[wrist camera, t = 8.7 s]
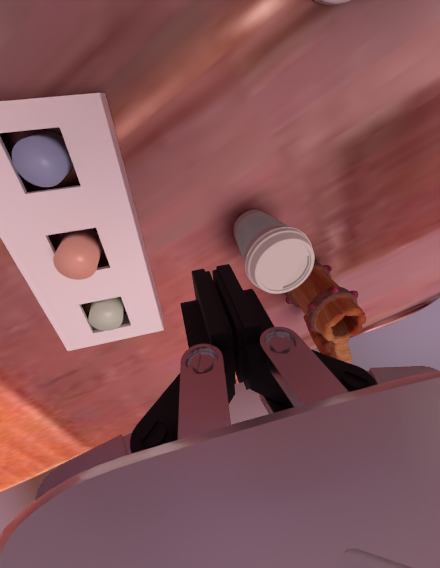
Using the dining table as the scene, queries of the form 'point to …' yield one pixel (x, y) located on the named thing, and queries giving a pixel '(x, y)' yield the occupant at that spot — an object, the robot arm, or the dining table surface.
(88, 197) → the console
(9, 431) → the dining table surface
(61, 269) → the orange rounded piece
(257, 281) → the coffee cup
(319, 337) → the mug
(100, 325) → the sage button
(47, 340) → the dining table surface
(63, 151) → the slate button
